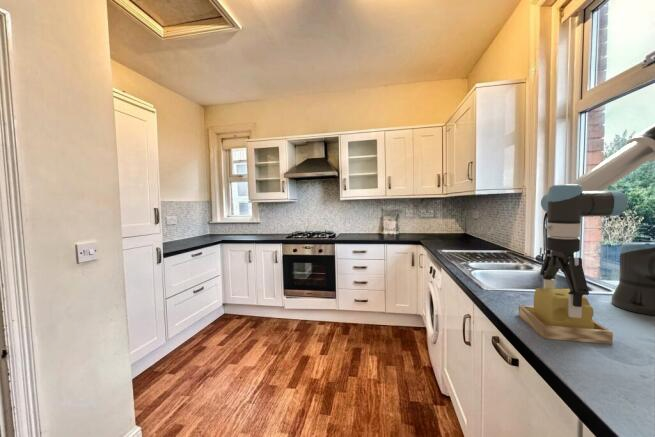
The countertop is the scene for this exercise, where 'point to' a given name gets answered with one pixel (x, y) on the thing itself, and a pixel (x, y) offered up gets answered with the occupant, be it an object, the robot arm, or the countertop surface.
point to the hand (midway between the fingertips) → (560, 307)
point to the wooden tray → (566, 329)
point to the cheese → (560, 309)
